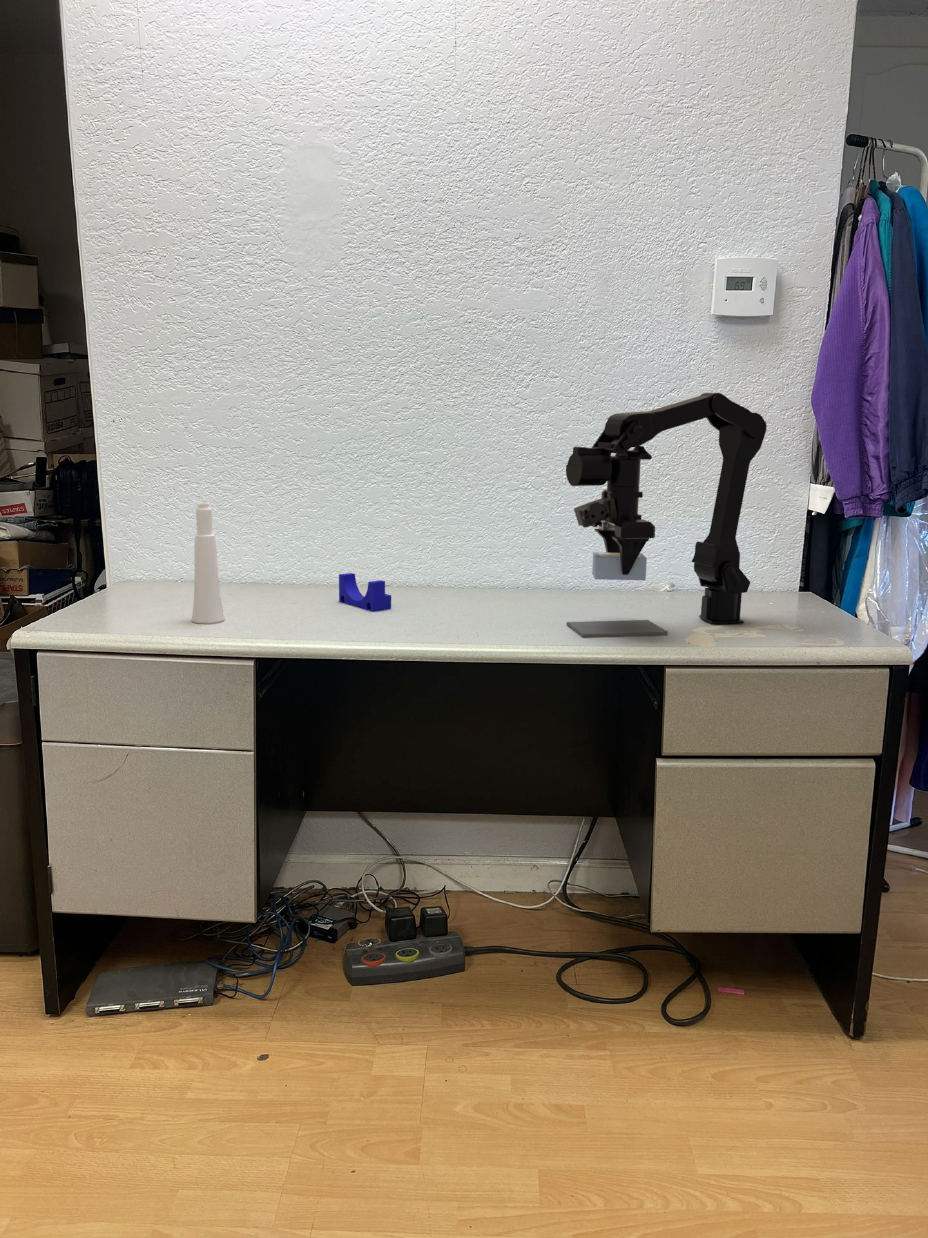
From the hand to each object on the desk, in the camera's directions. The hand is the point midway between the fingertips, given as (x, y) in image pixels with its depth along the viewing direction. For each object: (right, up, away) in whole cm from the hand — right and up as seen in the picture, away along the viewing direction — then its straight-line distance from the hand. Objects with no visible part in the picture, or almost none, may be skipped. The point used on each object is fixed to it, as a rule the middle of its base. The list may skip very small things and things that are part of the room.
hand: (618, 571), depth 182 cm
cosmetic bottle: (-76, -9, +5) cm, 77 cm away
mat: (0, -11, +2) cm, 11 cm away
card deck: (0, -1, 0) cm, 1 cm away
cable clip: (-48, -6, +21) cm, 53 cm away
